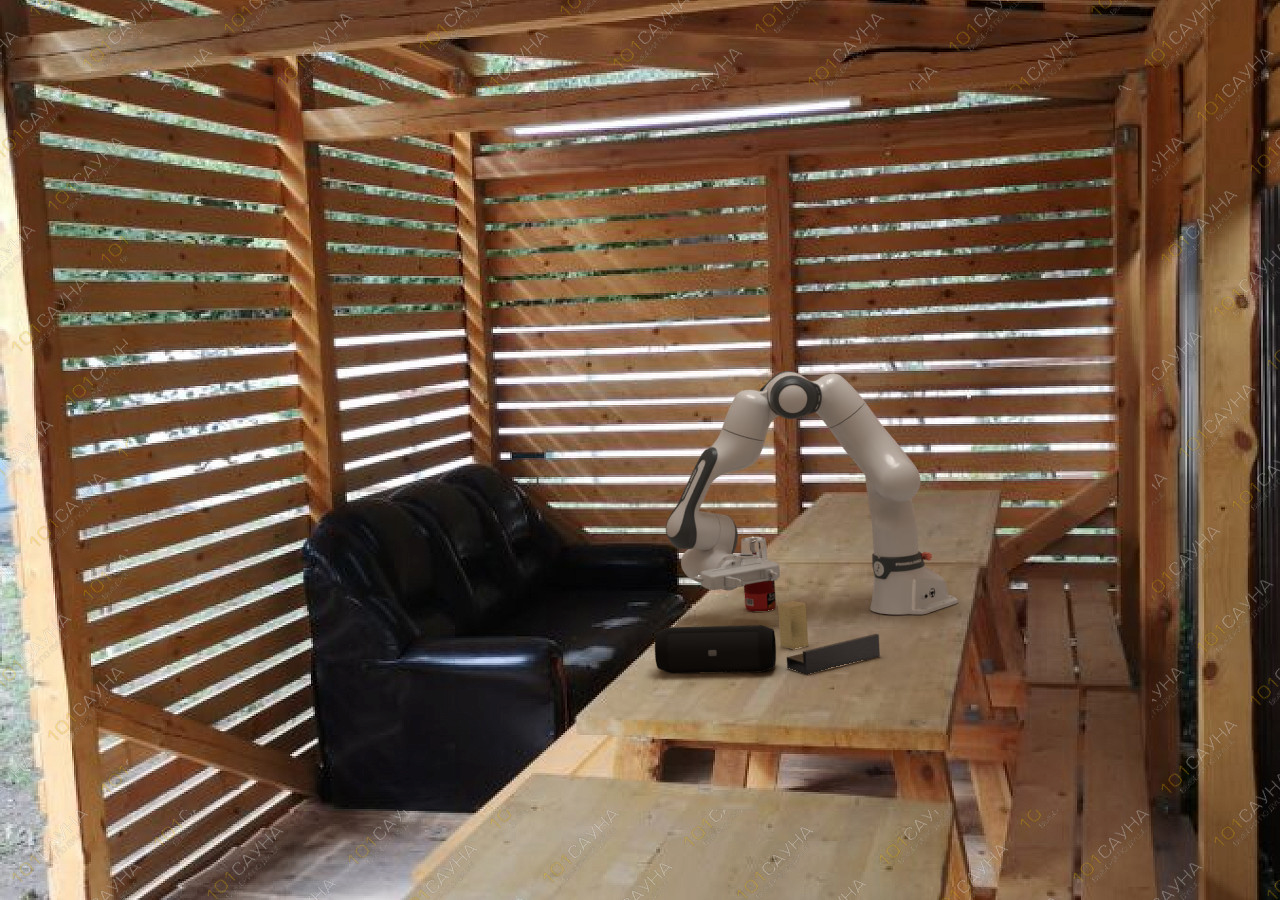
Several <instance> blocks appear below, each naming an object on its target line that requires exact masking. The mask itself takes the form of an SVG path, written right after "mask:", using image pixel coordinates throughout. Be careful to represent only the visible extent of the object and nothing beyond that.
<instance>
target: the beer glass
mask: <svg viewBox="0 0 1280 900" xmlns="http://www.w3.org/2000/svg"><path fill="white" fill-rule="evenodd" d="M740 547H741V548H740V549H741V550H740V552H741V554H740V555H752V554H753V555H757V558H762V559H767V560H768V549H767V540H766V537H765V536H748V537H744V538H741V545H740Z"/></svg>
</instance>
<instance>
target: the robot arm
mask: <svg viewBox="0 0 1280 900" xmlns="http://www.w3.org/2000/svg"><path fill="white" fill-rule="evenodd" d="M814 413H815V414H817V416H818V417H820V419H821V420H822V421H823V423H824V424H825V426H826V427H827V428H828V430H829V431H830V432H831V433H832V435H833V436H834V438H835V439H836V440H837V442H838V443H839V444H840V446H841V447H842V449H843V450H844V451H845V452H846V454H847V455H848V456H849V458H850V459H851V460H852V461H853V462H854V463H855V464H856V466H857V468H859V470H860V471H861V472H862V473H863V474H864V477H865V486H866V494H867V501H868V507H869V508H868V509H869V513H870V519H871V531H872V532H871V533H872V545H873V546H872V548H873V553H872V555H871V558H872V560H871V562H872V563H871V564H872V565H871V566H872V567H871V568H872V570H873V574H874V575H873V585H872V586H873V589H872V597H871V602H870V607H869V610H870V611H872V612H873V613H878V614H881V615H882V614H885V615H926V614H929V613H931V612H935V611H938V610H941V609H944V608H947V607H950V606H954V605H956V604H958V603H959V599H958V598H957V597H955V596H953V595H951V594H949V593H948V592H949V591H948V587H947V586H948V585H947V583H946V580H945V579H944V578H943V577H942V576H941V575H939V574H938V573H936V571H935V572H934V570H932V569H930V568H929V567H927V566H926V563H925V561H924V560H926V561H932V558H933V554H932V553H931V552H927V551H924V552H921V551H919V539H918V534H919V533H918V521H917V517H916V513H915V507H914V504H913V503H914V502H913V498H914V497H915V496H916V495H917V493H918V492H919V490H920V488H921V482H922V481H921V474H920V472H919V470H918V468H917V466H916V465H915V464H914V463H913V461H912V460H911V458H910V457H909V456H908V455H907V454H906V452H905V451H904V450H903V449H902V447H901V446H900V445H899V444H898V442H897V441H896V440H895V439H894V438H893V436H892V435H891V434H890V433H889V432H888V430H886V428H885V427H884V426H883V424H882V423H881V422H880V420H879V419H878V418H877V416H876V415H875V414H874V412H873V411H872V409H871V407H869V405H868V404H867V403H866V401H865V400H864V399H863V397H862V396H861V395H860V393H859V392H858V391H857V390H856V389H855V388H854V387H853V386H852V385H851V384H850V383H849V382H848V381H847V379H845V378H844V377H843V376H842V375H840V374H837V373H828V374H825V375H822V376H821V377H819V378H818V379H817V380H809V379H807V378H806V377H805V376H803V375H801V374H799V373H798V372H796V371H791V370H785V371H781V372H779V373H777V374H775V375H773V376H772V377H771V378H770V379H769V380H768V381H767V382H766V383H764V385H763V386H762V387H761V388H760V389H759V390H755V389H744V390H741V391H738V392H737V394H736V395H735V396H734V398H733V400H732V403H731V404H730V406H729V409H728V411H727V413H726V415H725V418H724V422H723V424H722V427H721V429H720V430H721V431H720V433H719V434H718V437H717V438H716V440H715V441H714V442H713V443H712V445H711V446H710V447H708V448H706V449H705V450H704V451H702V453H701V454H700V456H699V458H698V460H697V462H696V464H695V465H694V468H693V470H692V472H691V474H690V477H689V478H688V481H687V484H685V487H684V489H683V492H682V494H681V496H680V497H679V501H678V503H677V504H676V506H675V507H674V509H673V511H672V512H671V513H670V515H669V517H668V518H667V521H666V524H665V533H666V536H667V538H668V540H669V542H670V543H671V545H673V547H675V548H676V549H678V550H679V549H680V550H686V551H685V552H684V553H683V555H682V556H681V561H680V565H681V569H682V571H683V572H684V574H685V575H686V576H687V577H688V579H690V580H693V581H694V582H696V583H699V584H700V585H701V587H703V588H705V589H707V590H709V591H718V590H719V591H720V590H723V591H733V590H735V589H737V588H742V587H743V588H744V586H745V585H746V584H751V583H757V582H762V581H767V580H770V581H778V579H779V578H780V576H781V569H780V565H779V563H778V562H776V561H774V560H770V559H768V558H767V559H762V558H757V555H753V554H752V555H741V554H734V553H735V551H736V548H737V544H738V541H739V539H738V538H739V532H738V528H737V526H736V523H735V521H734V520H733V518H732V517H731V516H729V515H727V514H721V513H715V512H708V511H702V510H700V509H701V507H702V505H703V502H704V500H705V499H706V496H707V494H708V491H709V489H710V487H711V485H712V484H713V482H714V481H715V480H716V479H717V478H719V477H721V476H723V475H725V474H729V473H732V472H736V471H737V472H738V471H741V470H743V469H744V470H745V469H746V468H749V467H751V466H753V465H754V464H755V463H756V462H758V459H759V457H761V456H760V455H761V454H762V451H763V447H764V444H765V441H766V437H767V434H768V431H769V429H770V425H771V423H772V422H773V421H774V420H775V419H777V418H778V417H781V418H783V419H785V420H786V419H788V420H795V419H800V418H803V417H806V416H808V415H811V414H814Z"/></svg>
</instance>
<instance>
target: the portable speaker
mask: <svg viewBox="0 0 1280 900" xmlns="http://www.w3.org/2000/svg"><path fill="white" fill-rule="evenodd" d="M776 643H777V641H776V635H775V630H774V629H773V628H770V627H769V626H766V625H762V624H756V625H754V624H753V625H746V624H745V625H715V626H713V625H711V626H708V625H707V626H706V625H705V626H672V627H666V628H664V629H661V630H659V631H657V632H656V634H655V638H654V657H655V663H656V668H657V669H658V670H660V671H663V672H666V673H669V674H701V673H700V672H723V673H758V672H757V671H763V672H765V671H767V670H770V669H773V668H775V666H776V663H777V662H776V661H777V644H776Z"/></svg>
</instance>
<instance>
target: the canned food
mask: <svg viewBox="0 0 1280 900" xmlns="http://www.w3.org/2000/svg"><path fill="white" fill-rule="evenodd" d="M775 581H776V580H775ZM775 581H770V580H767V581H762V582H757V583H751V584H746V585H745V586H743V594H744V606H745V609H747V610H746V611H748V612H750V611H768V610H772V609H774V608H775V609H776V606H777V603H776V602H777V601H776V586H775V584H776V583H775ZM775 609H774V610H775ZM772 611H773V610H772ZM768 612H769V611H768Z"/></svg>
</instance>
